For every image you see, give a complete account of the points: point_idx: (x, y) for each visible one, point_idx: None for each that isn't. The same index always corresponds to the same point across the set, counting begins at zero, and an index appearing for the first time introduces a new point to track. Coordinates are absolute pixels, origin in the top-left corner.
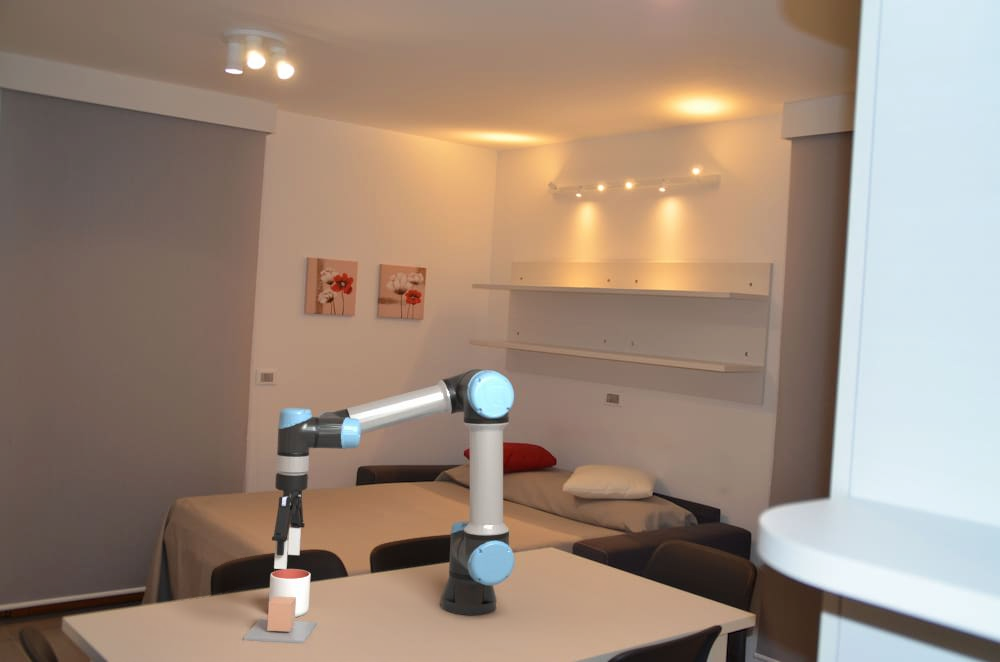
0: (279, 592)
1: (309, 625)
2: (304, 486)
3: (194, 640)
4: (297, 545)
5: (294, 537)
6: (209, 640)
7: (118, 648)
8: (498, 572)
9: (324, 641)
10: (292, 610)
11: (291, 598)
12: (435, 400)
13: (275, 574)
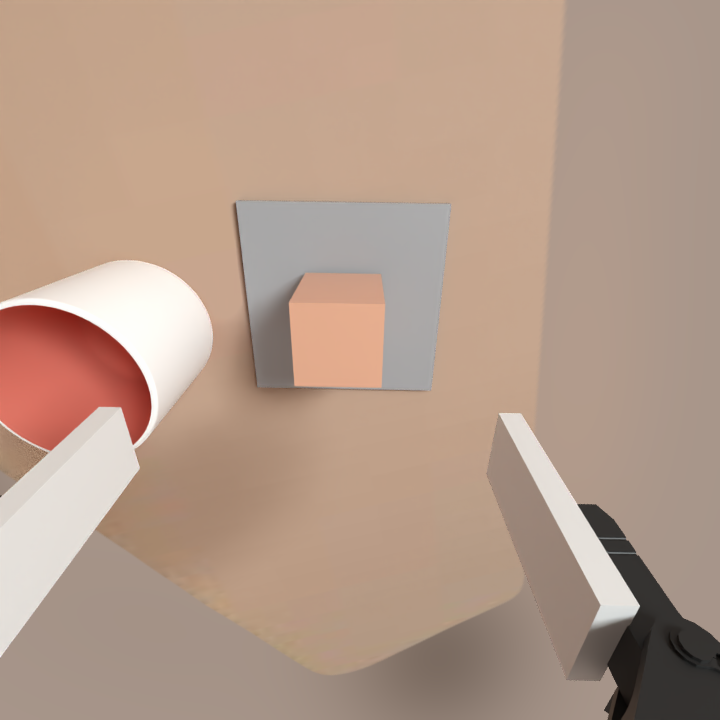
0: (183, 382)
1: (281, 220)
2: None
3: (439, 486)
4: (81, 465)
5: (41, 541)
6: (437, 458)
7: (494, 584)
8: None
9: (424, 127)
10: (349, 291)
11: (309, 317)
12: None
13: None
